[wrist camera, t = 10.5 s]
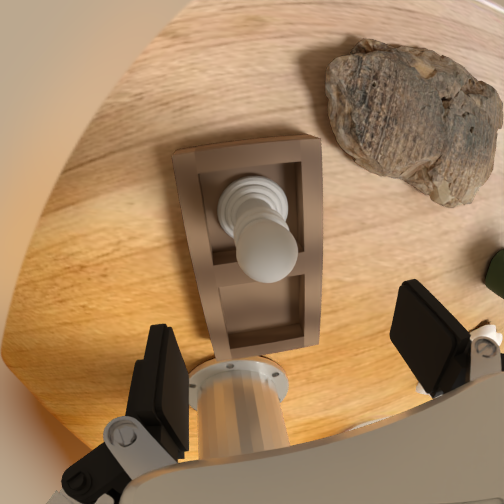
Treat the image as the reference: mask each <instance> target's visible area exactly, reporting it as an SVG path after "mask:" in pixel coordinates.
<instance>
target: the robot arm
mask: <svg viewBox="0 0 504 504" xmlns="http://www.w3.org/2000/svg"><path fill="white" fill-rule="evenodd" d="M470 337H471V334H470V333H469V332H468V331H467V330H466V329H465V328H464V327H463V326H462V325H461V324H460V323H459V322H458V320H457V319H456V318H455V317H454V316H453V315H452V314H451V313H450V312H449V311H448V310H447V309H446V308H445V307H444V306H443V305H442V304H441V303H440V302H439V301H438V300H437V299H436V298H435V297H434V296H433V295H432V294H431V293H430V292H429V291H428V290H427V289H426V288H425V287H424V286H423V285H422V284H421V283H420V282H419V281H418V280H416V279H412V280H408V281H404V282H403V283H402V285H401V286H400V287H399V291H398V297H397V302H396V307H395V312H394V316H393V321H392V325H391V330H390V339H391V341H392V343H393V344H394V345H395V347H396V348H397V350H398V351H399V353H400V354H401V356H402V357H403V359H404V360H405V362H406V363H407V365H408V366H409V368H410V369H411V371H412V372H413V374H414V375H415V377H416V378H417V380H418V381H419V383H420V384H421V386H422V387H423V389H424V391H425V392H426V393H427V394H430V395H431V397H432V399H433V400H430V401H428V402H426V403H424V404H421V405H419V406H417V407H414V408H412V409H410V410H407V411H405V412H402V413H400V414H397V415H394V416H392V417H389V418H386V419H384V420H381V421H378V422H375V423H373V424H369V425H366V426H364V427H360V428H357V429H354V430H351V431H347V432H344V433H341V434H337V435H334V436H330V437H326V438H322V439H318V440H314V441H310V442H306V443H302V444H297V445H293V446H290V442H289V438H288V434H287V430H286V426H285V422H284V418H283V414H282V410H281V405H280V402H281V401H282V400H283V399H284V398H285V396H286V394H287V392H288V388H289V383H288V379H287V376H286V373H285V371H284V370H283V369H282V367H281V366H279V365H278V364H277V363H275V362H273V361H271V360H269V359H267V358H263V357H260V356H254V357H247V358H240V359H234V360H226V361H219V362H217V361H216V358H214V359H212V360H209V361H206V362H204V363H203V364H201V365H199V366H197V367H196V368H195V369H194V370H192V371H191V372H190V374H189V375H188V371H187V369H186V366H185V363H184V361H183V358H182V355H181V352H180V350H179V347H178V344H177V341H176V338H175V335H174V332H173V329H172V327H167V325H166V324H157V325H151V326H150V330H149V335H148V340H147V345H146V350H145V355H144V359H143V360H137V361H136V363H135V367H134V371H133V376H132V381H131V387H130V392H129V397H128V403H127V408H126V414H125V416H122V417H117V418H115V419H113V420H112V421H110V422H109V423H108V424H107V426H106V427H105V429H104V433H103V438H104V441H105V442H103V443H102V444H101V445H99V446H98V447H97V448H95V449H94V450H92V451H91V452H90V453H88V454H87V455H86V456H84V457H83V458H82V459H80V460H79V461H77V462H76V463H74V464H73V465H72V466H70V467H69V468H68V469H67V470H66V471H65V472H64V474H63V476H62V480H61V482H62V489H61V490H60V492H58V491H55V493H54V494H53V495H52V497H51V498H50V499H49V501H48V502H47V503H46V504H504V354H502V353H500V348H499V346H498V344H497V343H496V342H495V341H494V340H493V339H491V338H489V337H486V336H479V337H476V338H475V339H474V340H473V341H471V340H470ZM443 393H444V394H443ZM442 394H443V395H442ZM440 395H441V396H440ZM438 396H439V397H438ZM436 397H437V398H436ZM434 398H435V399H434ZM189 405H190V406H191V407H192V408H193V409H195V410H196V411H197V423H198V453H199V460H194V461H188V462H182V463H178V459H184V451H189Z"/></svg>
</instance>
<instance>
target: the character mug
mask: <svg viewBox="0 0 504 504" xmlns="http://www.w3.org/2000/svg"><path fill="white" fill-rule="evenodd" d="M485 285H486V286H487V288H489V289H490V290H491V291H493V292H494V293H495V294H497V295H498V296H500V297H501V298H503V299H504V249H502V250H501V251H499V252H498V253H497V254H496V255H495V257H494V258H493V259H492V261H491V264H490V266H489V269H488V272H487V276H486V280H485Z"/></svg>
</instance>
